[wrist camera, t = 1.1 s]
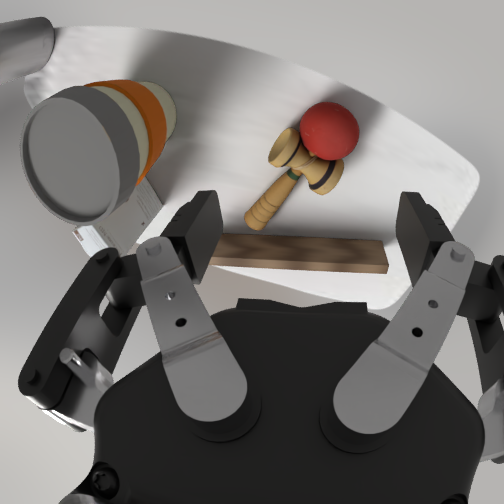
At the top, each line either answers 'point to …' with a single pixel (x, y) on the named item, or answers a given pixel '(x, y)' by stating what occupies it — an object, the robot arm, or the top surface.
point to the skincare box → (122, 222)
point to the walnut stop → (300, 253)
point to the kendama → (308, 157)
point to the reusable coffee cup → (94, 146)
